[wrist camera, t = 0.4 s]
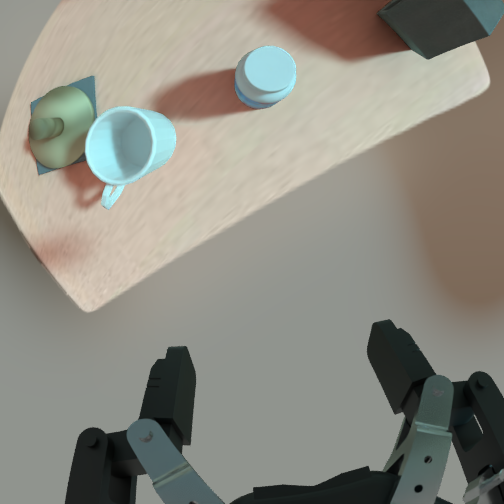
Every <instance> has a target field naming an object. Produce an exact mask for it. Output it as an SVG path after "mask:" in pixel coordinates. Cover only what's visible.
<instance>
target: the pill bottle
mask: <svg viewBox="0 0 504 504" xmlns="http://www.w3.org/2000/svg"><path fill="white" fill-rule="evenodd" d="M295 82H296V66H295V62H294V60H293V58H292V57H291V56H290V55H289V53H287V52H286V51H285V50H283V49H281V48H278V47H275V46H263V47H260V48H257V49H255V50H253V51H251V52H249V53H247V54H246V55H245V56H243V57H242V59H241V60H240V61H239V63H238V65H237V68H236V71H235V84H234V85H235V91H236V94H237V96H238V98H239V99H240V100H241V102H242V103H244V104H245V105H247V106H248V107H251V108H255V109H264V108H268V107H271V106H273V105H274V104H276V103H277V102H279V101H281V100H282V99H284V98H285V97H286V96H287V95H288V94H289V93H290V92H291V91H292V89H293V87H294V85H295Z"/></svg>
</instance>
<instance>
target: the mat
mask: <svg viewBox="0 0 504 504" xmlns="http://www.w3.org/2000/svg"><path fill="white" fill-rule="evenodd" d="M67 86H70V87H76V88H79V89H80V90H82V91H83V92H85V93H86V94H87V96H88V97H89V98H90V100H91V102H92V105H93V108H94V113H95V120H96V118H97V113H96V100H95V82H94V76H90V77H87V78H85V79H82V80H79V81H77V82H74V83H72V84H69V85H67ZM43 97H44V96H43ZM43 97H41V98H39V99H37V100H35V101H33V102H31V115H32V114H33V112H34V109H35V107H36V106H37V104H38V103H39V101H40V100H41V99H42V98H43ZM85 160H86V156H85V152H84V153H83V155H82V156H81V157H80V158H79V159H78V160H76V161H75V162H74V163H72V164H75V163H78V162H82V161H85ZM36 161H37V168H38V173H39V175H40V174H43V173H46V172H49V171H52V170H55V169H58V168H49V167H46V166H44V165H43V164H41V163H40V162H39V161H38V160H37V159H36ZM70 165H71V164H70Z"/></svg>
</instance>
